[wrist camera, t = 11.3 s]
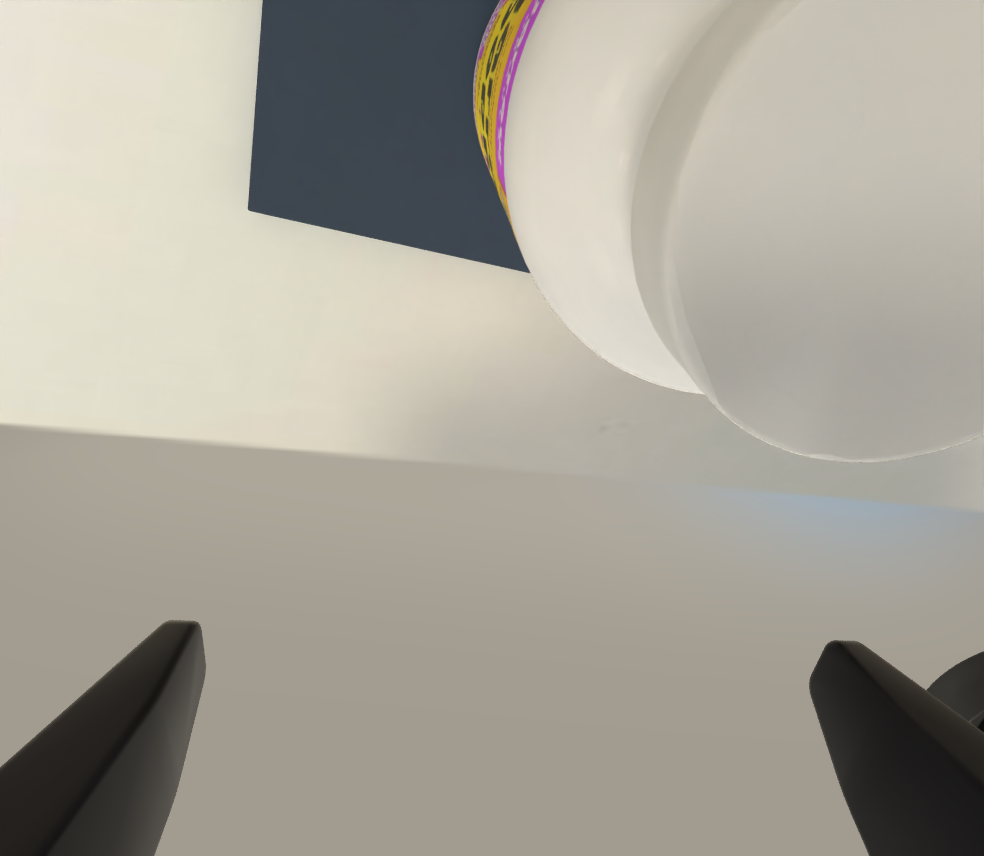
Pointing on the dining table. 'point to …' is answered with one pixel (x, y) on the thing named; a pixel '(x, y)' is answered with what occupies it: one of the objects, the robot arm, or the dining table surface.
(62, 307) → the dining table surface
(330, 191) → the placemat
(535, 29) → the supplement bottle
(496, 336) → the dining table surface
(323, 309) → the dining table surface
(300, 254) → the dining table surface
